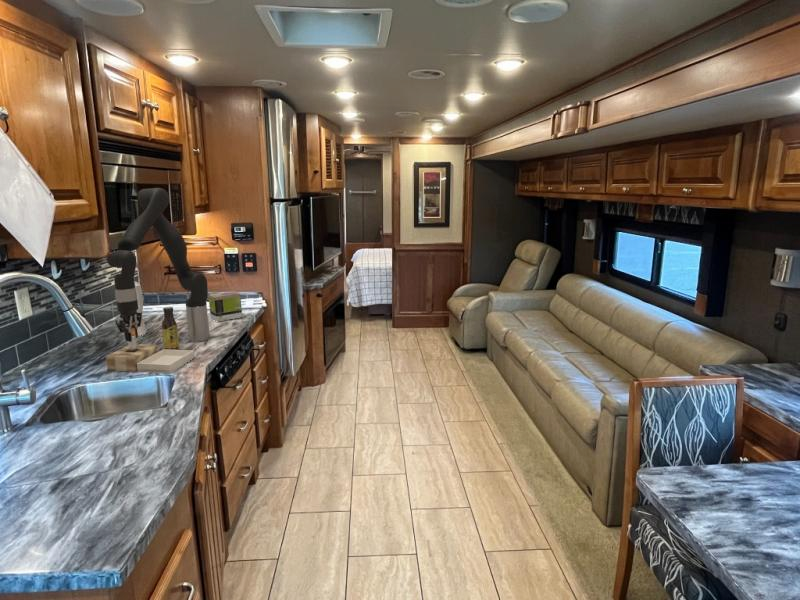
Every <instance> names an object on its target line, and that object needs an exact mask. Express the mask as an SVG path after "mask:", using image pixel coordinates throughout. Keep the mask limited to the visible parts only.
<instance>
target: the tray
mask: <svg viewBox="0 0 800 600" xmlns="http://www.w3.org/2000/svg"><path fill="white" fill-rule="evenodd" d="M193 358H194V359H195V351H194V350H188V349H178V350H170V349H164V348H163V349H161V350H159V352H157V353H155V354H154V355H152V356H150V357H148V358H146V359H144V360H142V361H141V362H139V363H137V369H138V370H137V373H139V372H140V373H159V374H172V373H174V372H175V371H177V370H178V369H180V368H182V367H183V366H185V365H186V364H188V363H190V362H191V361H193V360H194V359H193ZM192 359H193V360H192ZM190 360H191V361H190ZM187 362H188V363H187ZM184 364H185V365H184Z"/></svg>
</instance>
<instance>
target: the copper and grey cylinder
mask: <svg viewBox="0 0 800 600" xmlns="http://www.w3.org/2000/svg"><path fill="white" fill-rule="evenodd" d="M126 328H127V330H128V327H126ZM131 337H132V341H127V346H128V347H129V352H136V351H138V348H137V344H138V342H137V341H138V339H137V338H136V332H135V327H131Z"/></svg>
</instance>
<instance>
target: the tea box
mask: <svg viewBox="0 0 800 600" xmlns="http://www.w3.org/2000/svg"><path fill="white" fill-rule="evenodd" d="M208 303H209V305H208V306H209V313H210V319H211V318H212V319H213V320H215V321H222V322H224V321H223V320H228V321H230V320H229V319H233V320H235V319H234V318H239V317H242V318H243V309H242V297H241V293H239V292H237V291H233V290H232V291H226V292H219V293H213V294H211V293H210V294H208ZM212 319H211V320H212ZM239 319H240V318H239ZM213 320H212V321H213ZM215 321H214V322H215Z"/></svg>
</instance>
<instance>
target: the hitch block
mask: <svg viewBox="0 0 800 600" xmlns="http://www.w3.org/2000/svg"><path fill="white" fill-rule="evenodd" d="M137 348H138V351H136V352H129V347H128V345H126V346H124V347H123V348H120V349H118V350H115V351H113V352H111V353H109V354H108V355H106V356H105V360H106V367H107V368H106V369H107V371H113V370H114V372H115V371H116V372H117V371H118V372H121V371H122V372H133V373H134V372H138V369H137V363H139V362H141V361H142V360H144V359H146V358H148V357H150V356H152V355H154V354H155V353H157V352H159V351H160V350H159V345H158V344H141V343H140V344H139V343H137Z"/></svg>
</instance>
